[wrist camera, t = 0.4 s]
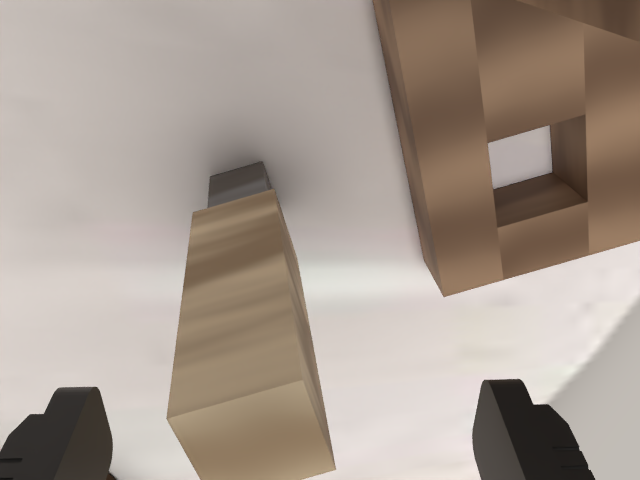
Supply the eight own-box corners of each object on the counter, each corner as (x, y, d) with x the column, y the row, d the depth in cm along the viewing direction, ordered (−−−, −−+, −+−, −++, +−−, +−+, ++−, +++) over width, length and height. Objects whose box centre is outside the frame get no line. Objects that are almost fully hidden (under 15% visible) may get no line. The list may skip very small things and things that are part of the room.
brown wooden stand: (345, -134, 26) (625, -227, 8) (609, -214, 26) (1559, -508, 7) (424, 260, 37) (617, 621, 18) (610, 206, 37) (996, 516, 18)
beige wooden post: (198, 171, 32) (166, 418, 17) (268, 150, 32) (302, 379, 17) (222, 232, 34) (214, 504, 19) (288, 213, 34) (335, 469, 19)
